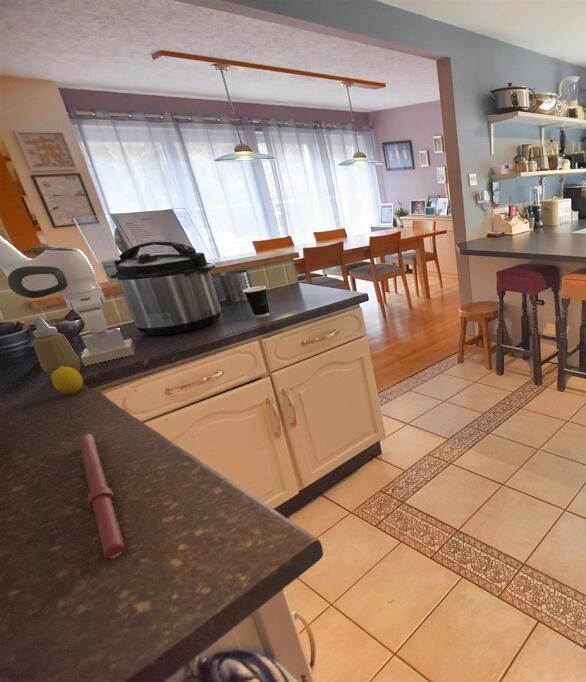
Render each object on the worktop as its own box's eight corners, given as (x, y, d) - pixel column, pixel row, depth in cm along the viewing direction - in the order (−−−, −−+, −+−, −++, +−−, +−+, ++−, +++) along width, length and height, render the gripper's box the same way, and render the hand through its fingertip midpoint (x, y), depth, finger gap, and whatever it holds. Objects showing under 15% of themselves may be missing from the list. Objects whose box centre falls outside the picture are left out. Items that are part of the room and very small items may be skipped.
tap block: (81, 368, 132) (77, 359, 131) (86, 356, 142) (82, 347, 141) (136, 355, 140) (132, 346, 138) (137, 344, 149) (133, 336, 148)
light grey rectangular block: (88, 352, 136) (81, 337, 134) (88, 351, 137) (81, 335, 135) (125, 343, 142) (118, 328, 140) (124, 342, 143) (118, 327, 141)
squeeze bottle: (48, 383, 123) (17, 324, 116) (47, 376, 128) (17, 318, 122) (86, 373, 128) (58, 315, 122) (83, 366, 134) (56, 311, 127)
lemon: (74, 389, 118) (60, 362, 116) (93, 388, 118) (80, 361, 115) (53, 399, 113) (39, 371, 110) (73, 398, 113) (59, 370, 110)
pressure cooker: (244, 316, 174) (219, 235, 162) (169, 341, 150) (133, 249, 138) (198, 310, 186) (172, 235, 174) (121, 333, 162) (84, 248, 150)
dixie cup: (270, 317, 169) (262, 289, 165) (248, 320, 168) (239, 292, 164) (275, 311, 177) (268, 285, 173) (254, 314, 175) (246, 287, 171)
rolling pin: (133, 553, 63) (124, 536, 62) (104, 567, 61) (95, 550, 60) (99, 441, 92) (92, 428, 91) (79, 448, 90) (72, 435, 89)
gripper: (70, 297, 139) (89, 337, 144) (73, 308, 125) (93, 352, 130) (96, 292, 143) (113, 331, 148) (101, 302, 129) (120, 345, 134)
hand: (104, 341), depth 139 cm, fingers closed on light grey rectangular block, 2 cm apart
